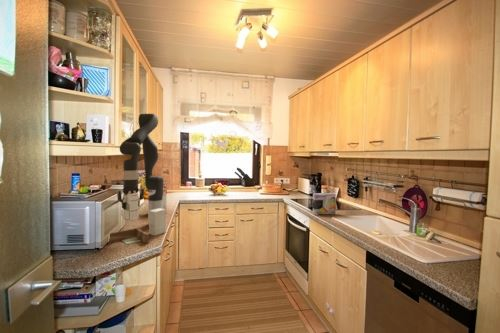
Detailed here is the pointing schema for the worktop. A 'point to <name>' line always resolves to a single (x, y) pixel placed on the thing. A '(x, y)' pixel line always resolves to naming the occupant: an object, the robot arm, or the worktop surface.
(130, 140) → the robot arm
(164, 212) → the skincare box
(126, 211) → the syrup box
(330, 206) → the cake pan box
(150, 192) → the cracker box
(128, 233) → the arena
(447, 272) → the worktop surface
